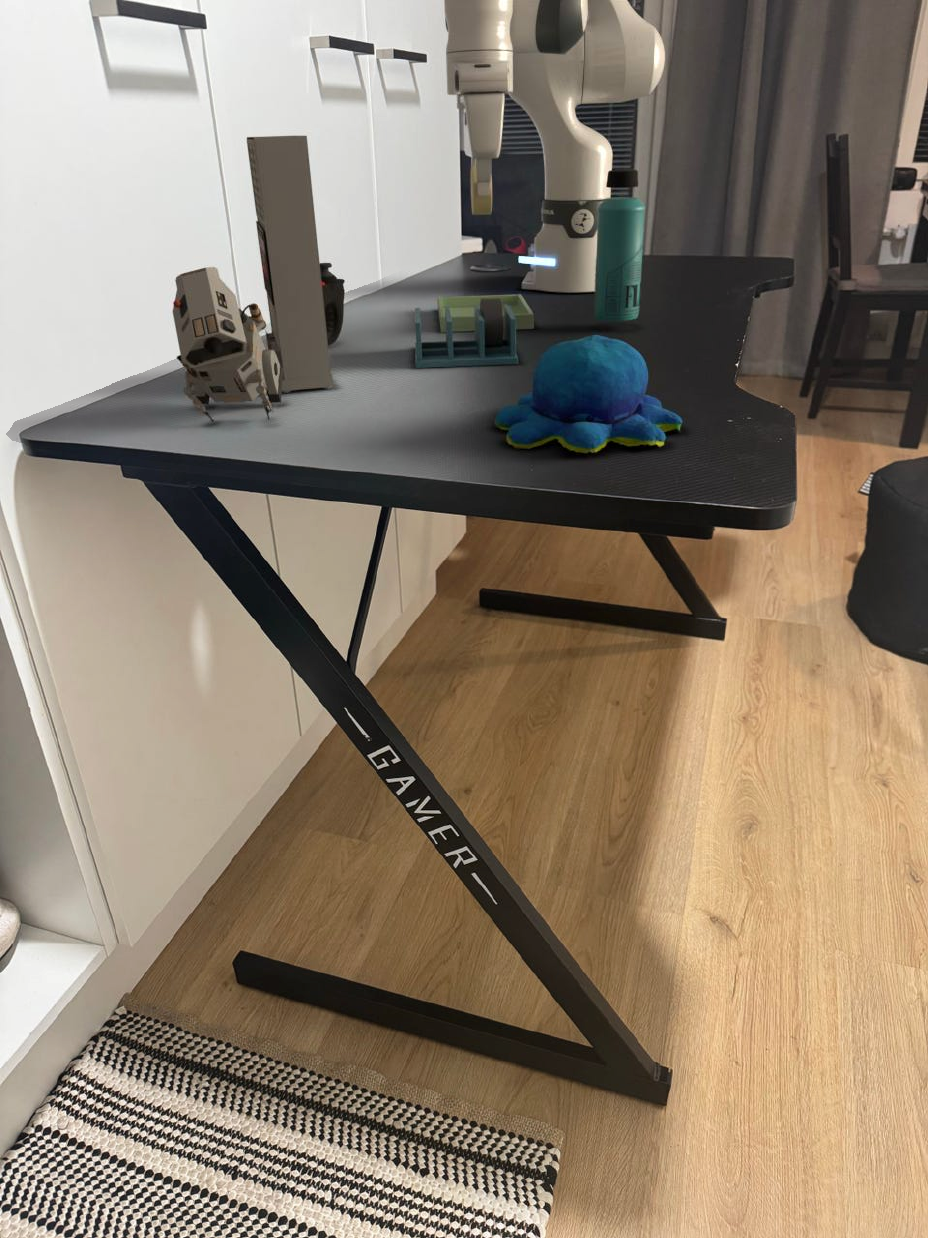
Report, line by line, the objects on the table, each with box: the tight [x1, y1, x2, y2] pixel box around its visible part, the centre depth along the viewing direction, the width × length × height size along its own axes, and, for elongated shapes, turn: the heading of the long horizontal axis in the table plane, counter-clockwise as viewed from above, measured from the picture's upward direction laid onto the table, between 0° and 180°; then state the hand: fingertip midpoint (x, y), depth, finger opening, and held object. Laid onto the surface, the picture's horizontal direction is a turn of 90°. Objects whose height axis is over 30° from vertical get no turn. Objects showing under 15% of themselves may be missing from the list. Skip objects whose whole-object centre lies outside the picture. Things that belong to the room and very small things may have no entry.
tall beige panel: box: [246, 135, 334, 394], centre depth 98 cm, size 14×6×25 cm, turn 15°
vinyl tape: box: [480, 298, 504, 347], centre depth 110 cm, size 6×2×6 cm, turn 4°
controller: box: [320, 262, 346, 346], centre depth 117 cm, size 4×12×10 cm, turn 163°
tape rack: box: [414, 305, 519, 369], centre depth 110 cm, size 11×12×5 cm
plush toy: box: [494, 334, 683, 454], centre depth 82 cm, size 17×17×8 cm
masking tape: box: [470, 164, 493, 216], centre depth 124 cm, size 6×3×6 cm, turn 3°
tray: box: [437, 293, 535, 333], centre depth 132 cm, size 17×13×2 cm
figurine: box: [172, 266, 283, 422], centre depth 87 cm, size 9×12×15 cm
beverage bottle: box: [592, 168, 646, 322], centre depth 120 cm, size 6×7×20 cm
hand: (481, 193), depth 124 cm, fingers closed on masking tape, 6 cm apart
